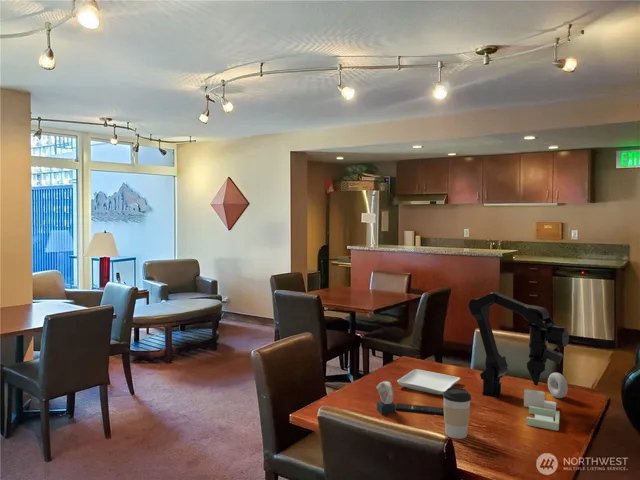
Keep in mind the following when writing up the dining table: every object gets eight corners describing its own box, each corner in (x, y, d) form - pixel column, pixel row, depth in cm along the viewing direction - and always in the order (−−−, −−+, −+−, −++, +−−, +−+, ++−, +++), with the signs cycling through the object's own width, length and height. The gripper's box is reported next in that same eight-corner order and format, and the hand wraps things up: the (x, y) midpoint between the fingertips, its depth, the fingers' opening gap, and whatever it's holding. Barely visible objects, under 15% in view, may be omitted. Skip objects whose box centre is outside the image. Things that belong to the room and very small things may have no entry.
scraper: (523, 408, 185) (523, 392, 184) (524, 402, 191) (525, 387, 191) (555, 413, 180) (556, 397, 180) (556, 407, 186) (556, 391, 186)
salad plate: (461, 384, 212) (461, 376, 212) (445, 399, 194) (445, 391, 194) (414, 375, 223) (414, 368, 223) (395, 389, 206) (395, 381, 205)
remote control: (397, 406, 187) (397, 403, 187) (462, 413, 181) (462, 409, 181) (395, 411, 182) (395, 408, 182) (462, 419, 176) (462, 415, 176)
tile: (534, 424, 171) (534, 420, 171) (534, 418, 177) (534, 414, 177) (553, 428, 169) (553, 423, 169) (553, 421, 174) (553, 417, 174)
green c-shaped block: (526, 424, 170) (526, 417, 170) (529, 412, 181) (529, 405, 181) (558, 430, 165) (558, 423, 165) (559, 417, 176) (559, 410, 176)
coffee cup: (438, 428, 166) (439, 385, 166) (464, 427, 167) (465, 384, 166) (447, 440, 157) (448, 394, 157) (474, 439, 158) (475, 394, 157)
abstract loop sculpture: (388, 406, 185) (388, 378, 185) (397, 414, 178) (397, 385, 177) (374, 408, 184) (375, 379, 183) (383, 416, 176) (383, 386, 176)
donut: (569, 402, 192) (570, 376, 191) (561, 402, 191) (562, 377, 191) (553, 392, 201) (553, 368, 201) (545, 393, 201) (546, 369, 200)
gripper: (561, 349, 173) (560, 393, 174) (562, 338, 189) (560, 377, 190) (527, 345, 178) (526, 387, 179) (530, 334, 195) (529, 373, 195)
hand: (536, 381), depth 185 cm, fingers open, 9 cm apart
